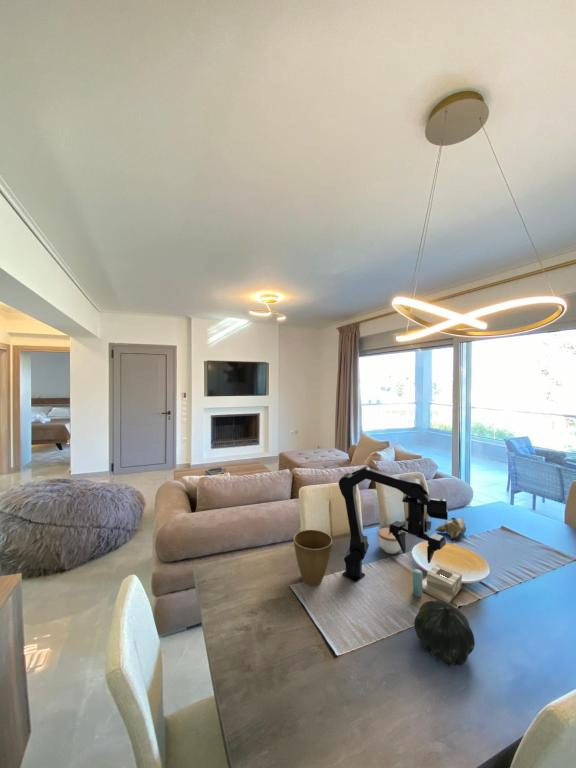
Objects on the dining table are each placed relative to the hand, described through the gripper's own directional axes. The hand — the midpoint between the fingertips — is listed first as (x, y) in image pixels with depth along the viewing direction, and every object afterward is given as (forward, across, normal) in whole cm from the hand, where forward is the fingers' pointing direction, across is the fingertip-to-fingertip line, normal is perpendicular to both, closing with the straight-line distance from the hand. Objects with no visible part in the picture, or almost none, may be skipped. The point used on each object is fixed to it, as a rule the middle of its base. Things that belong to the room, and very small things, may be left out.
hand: (416, 557), depth 114 cm
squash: (+12, -16, +20) cm, 28 cm away
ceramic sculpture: (+13, +6, -56) cm, 58 cm away
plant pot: (+12, +31, +22) cm, 40 cm away
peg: (+12, -1, +1) cm, 12 cm away
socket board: (+12, -5, -8) cm, 15 cm away
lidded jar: (+12, +21, -19) cm, 31 cm away
